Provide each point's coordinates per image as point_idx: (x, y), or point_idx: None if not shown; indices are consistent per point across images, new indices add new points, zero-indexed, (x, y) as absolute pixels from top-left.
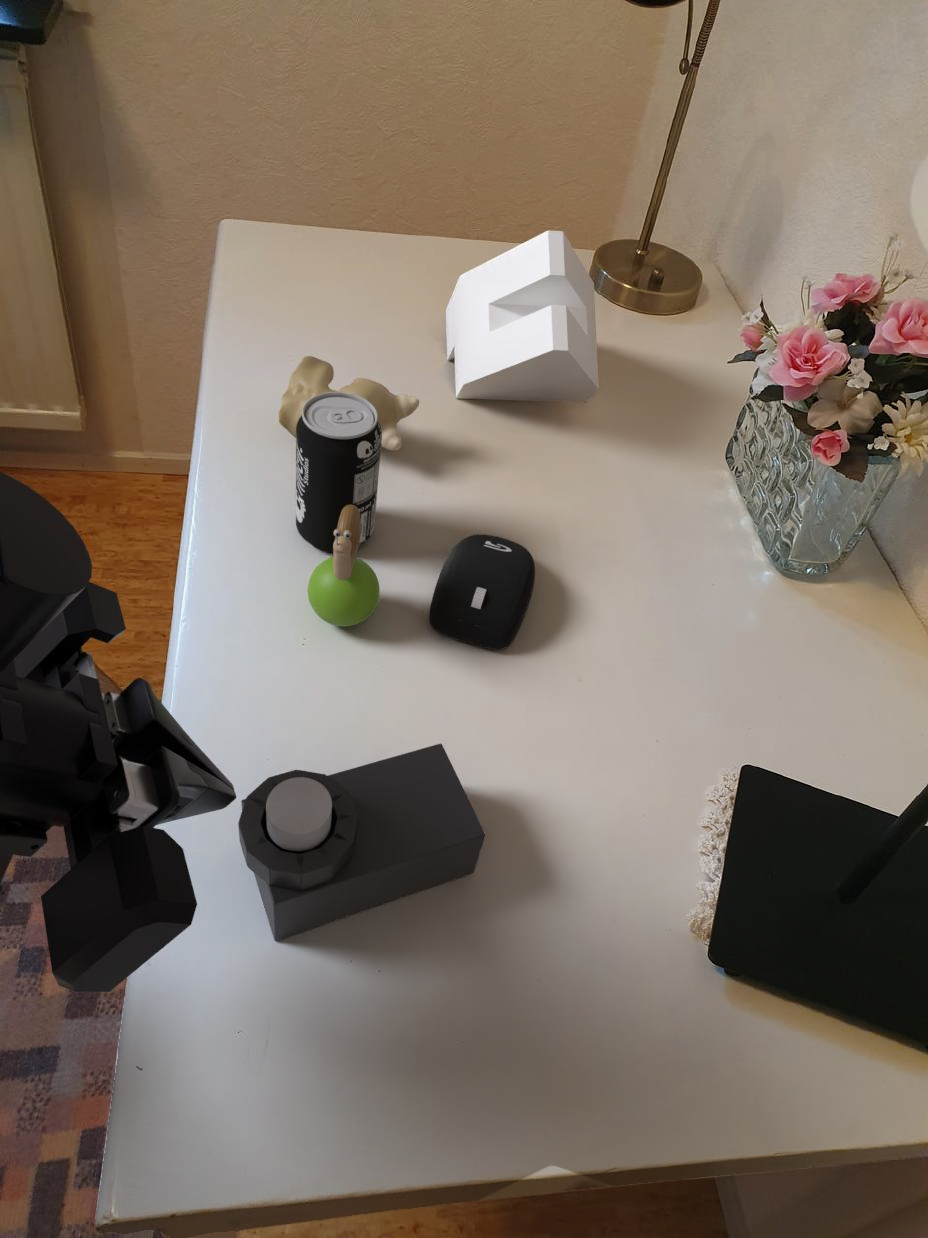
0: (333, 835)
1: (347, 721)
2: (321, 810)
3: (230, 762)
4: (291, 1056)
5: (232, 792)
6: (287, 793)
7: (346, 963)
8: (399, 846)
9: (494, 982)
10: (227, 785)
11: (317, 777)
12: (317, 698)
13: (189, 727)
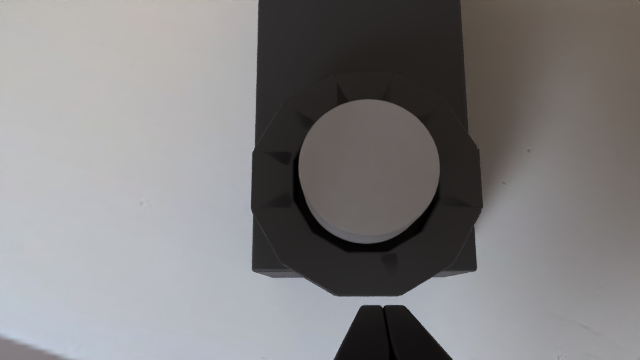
0: None
1: (120, 67)
2: (396, 125)
3: (123, 261)
4: (612, 300)
5: (404, 315)
6: (334, 180)
7: (505, 190)
8: (434, 37)
9: (586, 15)
10: (384, 325)
11: (284, 118)
12: (59, 97)
13: (30, 310)
